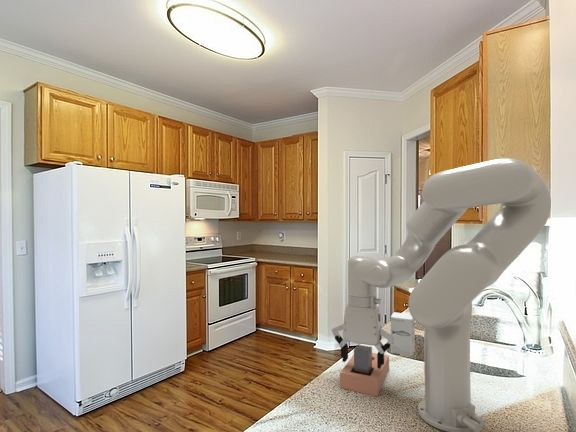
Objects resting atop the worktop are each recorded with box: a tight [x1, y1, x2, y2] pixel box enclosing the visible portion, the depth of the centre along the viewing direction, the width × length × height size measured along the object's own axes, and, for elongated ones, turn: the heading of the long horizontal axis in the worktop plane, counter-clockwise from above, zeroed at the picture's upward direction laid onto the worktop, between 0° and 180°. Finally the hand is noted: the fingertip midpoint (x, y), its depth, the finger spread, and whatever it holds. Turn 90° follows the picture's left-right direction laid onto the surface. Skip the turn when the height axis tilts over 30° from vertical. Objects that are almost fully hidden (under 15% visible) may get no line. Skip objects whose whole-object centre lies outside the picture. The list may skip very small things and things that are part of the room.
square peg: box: [353, 344, 373, 376], centre depth 90 cm, size 4×4×10 cm
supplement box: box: [390, 311, 416, 358], centre depth 114 cm, size 7×7×13 cm
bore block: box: [339, 352, 390, 397], centre depth 95 cm, size 18×10×4 cm, turn 154°
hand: (362, 363), depth 91 cm, fingers open, 9 cm apart
